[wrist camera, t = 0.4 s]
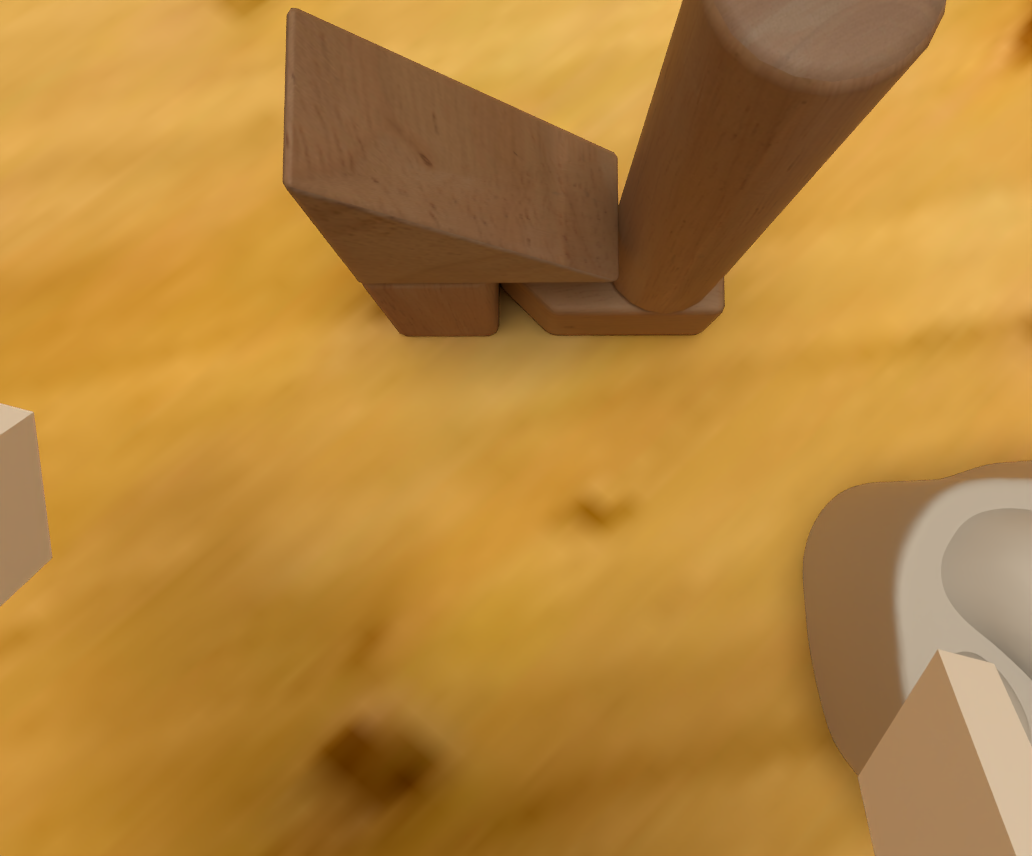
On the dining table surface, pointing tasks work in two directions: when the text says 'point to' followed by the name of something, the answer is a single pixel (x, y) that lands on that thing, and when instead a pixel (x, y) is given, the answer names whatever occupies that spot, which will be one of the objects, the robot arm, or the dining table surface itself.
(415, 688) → the dining table surface
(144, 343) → the dining table surface
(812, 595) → the paw mold
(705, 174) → the wooden block
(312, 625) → the dining table surface
